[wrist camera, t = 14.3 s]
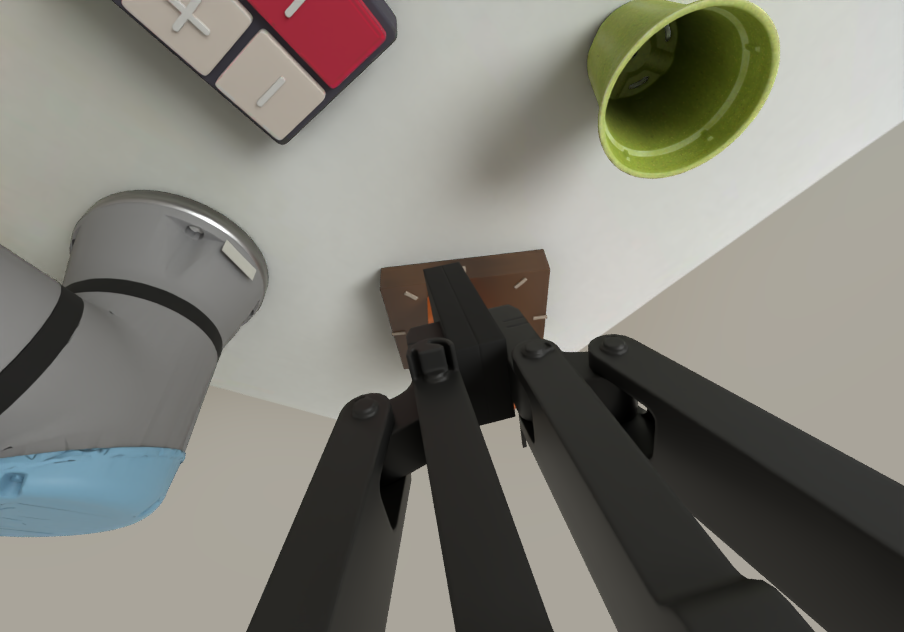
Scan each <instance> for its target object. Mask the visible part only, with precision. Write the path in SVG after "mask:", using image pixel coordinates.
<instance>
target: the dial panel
mask: <svg viewBox="0 0 904 632" xmlns="http://www.w3.org/2000/svg"><path fill="white" fill-rule="evenodd" d="M455 262H460V264H461V265H462V267H463V269H464V270H465V272H466V274H467V275H468V277H469V279H470V280H471V282H472V284H473V285H474V287H475V289H476V290H477V292H478V294H479V295H480V297H481V299H482V300H483V302H484V303H485V305H486V307H487V308H488V309H490V308H494V307H499V306H503V305H507V304H509V305H511V306H513V307H515V308H517V309H519V310H520V312H521V313H522V314H523V316H524V317H525V318H526V319H527V321H528V323H530V325H531V326H532V327H533V329H534V330H535V331H536V333H537V334H538V335H539V337H540V338H541V339H543V337H544V327H545V319H546V318H547V315H546V306H547V296H548V286H549V276H550V267H549V264H548V261H547V258H546V255H545V252H544V250H543V249H542V250H533V251H524V252H516V253H507V254H499V255H490V256H481V257H473V258H464V259H456V260H447V261H438V262H430V263H421V264H413V265H404V266H395V267H387V268H381V279H380V291H381V294H382V298H383V301H384V304H385V308H386V311H387V314H388V318H389V321H390V324H391V327H392V331H393V332H392V336H394V337H395V341H396V344H397V347H398V351H399V354H400V357H401V361H402V364H403V367H404V369H409V366H408V362H407V358H406V354H407V350H408V345H407V340H406V335H407V333H408V332H409V330H410V328H412V327H416V326H421V325H425V324H428V306H427V297H429V296H428V291H427V286H426V282H425V277H424V272H423V269H427V268H432V267H436V266H441V265H445V264H450V263H455Z"/></svg>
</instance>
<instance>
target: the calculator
mask: <svg viewBox="0 0 904 632" xmlns="http://www.w3.org/2000/svg"><path fill="white" fill-rule="evenodd" d="M112 1H113V2H114V3H115V4H117V5H118V6H119V7H120V8H121V9H122V10H123V11H125V12H126V13H127V14H128V15H129V16H130V17H132V18H133V19H134V20H135V21H136V22H137V23H139V24H140V25H141V26H142V27H143V28H144V29H146V30H147V31H148V32H149V33H150V34H151V35H153V36H154V37H155V38H156V39H157V40H158V41H159V42H161V43H162V44H163V45H164V46H165V47H166V48H168V49H169V50H170V51H171V52H172V53H173V54H175V55H176V56H177V57H178V58H179V59H180V60H182V61H183V62H184V63H185V64H186V65H187V66H189V67H190V68H191V69H192V70H193V71H194V72H196V73H197V74H198V75H199V76H200V77H201V78H202V79H204V80H205V81H206V82H207V83H208V84H209V85H211V86H212V87H213V88H214V89H215V90H216V91H218V92H219V93H220V94H221V95H222V96H223V97H225V98H226V99H227V100H228V101H229V102H230V103H232V104H233V105H234V106H235V107H236V108H237V109H239V110H240V111H241V112H242V113H243V114H244V115H245V116H247V117H248V118H249V119H250V120H251V121H252V122H254V123H255V124H256V125H257V126H258V127H259V128H261V129H262V130H263V131H264V132H265V133H266V134H268V135H269V136H270V137H271V138H272V139H273V140H275V141H276V142H277V143H279V144H281V145H284V144H286V143H288V142H289V141H290V140H291V139H292V138H293V137H294V136H295V135H296V134H297V133H298V132H299V131H300V130H301V129H302V128H303V127H305V126H306V125H307V124H308V123H309V122H310V121H311V120H312V119H313V118H314V117H315V116H316V115H317V114H318V113H319V112H320V111H321V110H323V109H324V108H325V107H326V106H327V105H328V104H329V103H330V102H331V101H332V100H333V99H334V98H335V97H336V96H337V95H338V94H339V93H340V92H342V91H343V90H344V89H345V88H346V87H347V86H348V85H349V84H350V83H351V82H352V81H353V80H354V79H355V78H356V77H357V76H358V75H360V74H361V73H362V72H363V71H364V70H365V69H366V68H367V67H368V66H369V65H370V64H371V63H372V62H373V61H374V60H375V59H376V58H377V57H379V56H380V55H381V54H382V53H383V52H384V51H385V50H386V49H387V48H388V47H389V46H390V45H391V44H392V43H393V42H394V41H395V40H396V38H397V21H396V17H395V15H394V13H393V12H392V10H391V9H390V8H389V6H388V5H387V4H386V2H385V1H384V0H112Z"/></svg>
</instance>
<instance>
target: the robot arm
mask: <svg viewBox="0 0 904 632" xmlns="http://www.w3.org/2000/svg"><path fill="white" fill-rule="evenodd" d="M423 272H424V277H425V282H426V286H427V291H428V296H429V301H430V306H431V310H432V315H433V320H434V323H429V324H425V325H421V326H416V327H412V328H410V330H409V332H408V333H407V335H406V340H407V345H408V350H407V354H406V358H407V362H408V366H409V370H410V374H411V378H412V383H411V385H410V386H409V387H408V389H407V390H405V391H404V392H403V393H402V394H400V395H398V396H396V397H394V398H392V399H390V400H389V399H388V398H387V396H385V395H382V394H380V393H369V394H365V395H361V396H359V397H356V398H354V399H352V400H351V401H350V402H348V403H347V404H346V405H345V406H344V407H343V409H342V410H341V412H340V414H339V417H338V419H337V421H336V424H335V426H334V428H333V431H332V433H331V435H330V438H329V440H328V443H327V445H326V447H325V449H324V452H323V454H322V456H321V459H320V461H319V463H318V466H317V468H316V470H315V473H314V475H313V477H312V480H311V482H310V484H309V487H308V489H307V491H306V494H305V496H304V498H303V501H302V503H301V505H300V508H299V510H298V512H297V515H296V517H295V519H294V522H293V524H292V526H291V529H290V531H289V533H288V536H287V538H286V540H285V543H284V545H283V547H282V550H281V552H280V554H279V557H278V559H277V561H276V564H275V566H274V569H273V571H272V573H271V575H270V578H269V580H268V582H267V585H266V587H265V589H264V592H263V594H262V596H261V599H260V601H259V603H258V606H257V608H256V610H255V613H254V615H253V617H252V620H251V622H250V624H249V627H248V629H247V631H246V632H385V627H386V622H387V616H388V611H389V605H390V599H391V593H392V587H393V582H394V576H395V570H396V565H397V559H398V553H399V547H400V542H401V536H402V529H403V524H404V519H405V513H406V507H407V501H408V495H409V490H410V484H411V472H413V471H415V470H416V469H418V468H420V467H422V466H424V465H426V464H427V468H428V474H429V480H430V485H431V491H432V497H433V503H434V508H435V515H436V520H437V526H438V532H439V538H440V543H441V549H442V555H443V560H444V566H445V572H446V578H447V584H448V589H449V595H450V601H451V607H452V613H453V618H454V624H455V630H456V632H554V631H553V629H552V626H551V624H550V621H549V618H548V615H547V613H546V610H545V607H544V604H543V602H542V599H541V596H540V593H539V591H538V588H537V585H536V582H535V579H534V576H533V574H532V571H531V568H530V565H529V563H528V560H527V557H526V554H525V552H524V549H523V546H522V543H521V540H520V538H519V535H518V532H517V529H516V527H515V524H514V521H513V518H512V515H511V513H510V510H509V507H508V504H507V502H506V499H505V496H504V493H503V490H502V488H501V485H500V482H499V479H498V476H497V474H496V471H495V468H494V465H493V463H492V460H491V457H490V454H489V451H488V449H487V446H486V443H485V440H484V437H483V435H482V432H481V429H480V425H484V424H488V423H492V422H496V421H500V420H504V419H507V418H512V417H515V410H514V405H515V407H516V409H517V410H518V413H519V421H520V429H521V437H522V445H523V448H524V447H526V446H527V445H526V440H527V442H528V444H529V446H530V448H531V450H532V452H533V455H534V457H535V459H536V461H537V463H538V465H539V467H540V469H541V471H542V473H543V475H544V478H545V480H546V482H547V484H548V486H549V488H550V490H551V492H552V494H553V497H554V499H555V501H556V503H557V505H558V507H559V509H560V511H561V513H562V515H563V517H564V520H565V521H566V523H567V526H568V528H569V530H570V532H571V534H572V536H573V538H574V541H575V543H576V545H577V547H578V549H579V551H580V553H581V555H582V557H583V559H584V561H585V563H586V566H587V568H588V570H589V572H590V574H591V576H592V578H593V580H594V582H595V584H596V587H597V589H598V590H599V593H600V595H601V597H602V599H603V601H604V603H605V605H606V607H607V610H608V612H609V614H610V616H611V618H612V620H613V622H614V624H615V626H616V628H617V631H618V632H814V630H813V629H812V628H811V627H810V626H809V624H808V623H807V622H806V621H805V620H804V619H803V617H802V616H801V615H800V614H799V613H798V612H797V611H796V609H795V608H794V607H793V606H792V605H791V603H790V602H789V601H788V600H787V599H786V598H785V597H783V595H782V594H781V593H780V592H779V591H778V590H777V589H776V588H778V589H779V590H780V591H781V592H782V593H783V594H784V595H786V596H787V597H788V598H789V599H790V600H791V601H793V602H794V603H795V604H796V605H797V606H798V607H800V608H801V609H802V610H803V611H804V612H805V613H806V614H808V615H809V616H810V617H811V618H812V619H814V620H815V621H816V622H817V623H818V624H819V625H820V626H821V627H823V628H824V629H825V630H826V631H827V632H904V486H903V485H901V484H900V483H898V482H896V481H894V480H892V479H890V478H888V477H887V476H885V475H883V474H881V473H879V472H878V471H876V470H874V469H872V468H870V467H868V466H866V465H865V464H863V463H861V462H859V461H857V460H855V459H853V458H852V457H850V456H848V455H846V454H844V453H843V452H841V451H839V450H837V449H835V448H833V447H831V446H830V445H828V444H826V443H824V442H822V441H820V440H819V439H817V438H815V437H813V436H811V435H809V434H807V433H805V432H804V431H802V430H800V429H798V428H796V427H794V426H793V425H791V424H789V423H787V422H785V421H783V420H781V419H780V418H778V417H776V416H774V415H772V414H771V413H768V412H767V411H765V410H763V409H761V408H760V407H758V406H756V405H754V404H752V403H750V402H748V401H747V400H745V399H743V398H741V397H739V396H737V395H736V394H734V393H732V392H730V391H728V390H726V389H724V388H723V387H721V386H719V385H717V384H715V383H713V382H712V381H710V380H708V379H706V378H704V377H702V376H700V375H699V374H696V373H695V372H693V371H691V370H689V369H688V368H686V367H684V366H682V365H680V364H678V363H676V362H675V361H673V360H671V359H669V358H667V357H665V356H664V355H661V354H660V353H658V352H656V351H654V350H653V349H650V348H649V347H647V346H645V345H643V344H641V343H640V342H638V341H636V340H634V339H632V338H629V337H627V336H623V335H617V334H611V335H603V336H599V337H596V338H595V339H593V340H592V341H591V342H590V343H589V345H588V352H562V351H561V350H560V348H559V347H558V346H557V345H556V344H554V343H553V342H551V341H548V340H545V339H541V338H540V337H539V335H538V334H537V333H536V331H535V330H534V329H533V327H532V326H531V325H530V323H528V321H527V319H526V318H525V317H524V316H523V314H522V313H521V312H520V310H519V309H517V308H515V307H513V306H511V305H509V304H507V305H503V306H499V307H494V308H490V309H488V308H487V307H486V305H485V303H484V302H483V300H482V299H481V297H480V295H479V294H478V292H477V290H476V289H475V287H474V285H473V284H472V282H471V280H470V279H469V277H468V275H467V274H466V272H465V270H464V269H463V267H462V265H461V264H460V262H455V263H450V264H445V265H441V266H436V267H432V268H427V269H423ZM267 286H268V269H267V265H266V262H265V260H264V258H263V255H262V253H261V252H260V250H259V249H258V247H257V246H256V244H255V243H254V242H253V240H252V239H251V238H250V237H249V236H248V235H247V234H246V233H245V232H244V231H243V230H242V229H241V228H240V227H239V226H237V225H236V224H235V223H234V222H232V221H231V220H230V219H228V218H227V217H225V216H224V215H222V214H220V213H219V212H217V211H215V210H213V209H212V208H210V207H208V206H206V205H203V204H201V203H199V202H196V201H194V200H191V199H188V198H185V197H182V196H179V195H175V194H171V193H166V192H160V191H150V190H133V191H124V192H119V193H115V194H112V195H109V196H107V197H105V198H103V199H101V200H99V201H98V202H96V203H95V204H94V205H93V206H92V207H91V208H90V209H89V210H88V211H87V212H86V214H85V215H84V216H83V217H82V218H81V219H80V220H79V221H78V223H77V224H76V226H75V228H74V230H73V233H72V238H71V244H70V258H69V261H68V265H67V269H66V273H65V277H64V281H63V285H61V284H60V283H59V282H57V281H56V280H54V279H52V278H51V277H49V276H48V275H46V274H45V273H43V272H42V271H40V270H39V269H37V268H36V267H34V266H33V265H31V264H30V263H28V262H27V261H25V260H24V259H22V258H21V257H19V256H18V255H16V254H14V253H13V252H11V251H10V250H8V249H7V248H5V247H4V246H2V245H1V244H0V536H10V537H49V536H70V535H81V534H90V533H98V532H104V531H110V530H114V529H118V528H121V527H125V526H128V525H131V524H134V523H136V522H138V521H140V520H142V519H144V518H146V517H147V516H149V515H150V514H151V513H153V512H154V511H155V510H156V509H157V508H158V507H159V505H160V504H161V503H162V501H163V499H164V498H165V496H166V493H167V491H168V489H169V487H170V485H171V483H172V480H173V478H174V476H175V474H176V472H177V470H178V468H179V466H180V464H181V463H182V462H183V461H184V459H185V454H186V453H185V450H186V448H187V445H188V442H189V439H190V436H191V434H192V431H193V428H194V425H195V423H196V420H197V417H198V414H199V412H200V409H201V406H202V403H203V401H204V398H205V395H206V393H207V390H208V387H209V384H210V382H211V379H212V376H213V374H214V371H215V368H216V365H217V362H218V360H219V357H220V355H221V352H222V350H223V348H224V347H225V345H226V344H227V343H228V342H229V341H230V340H231V339H232V338H233V337H234V336H235V334H236V333H237V332H238V330H239V329H240V327H241V326H242V325H244V324H245V323H246V322H248V321H249V320H250V319H251V318H252V317H253V315H254V314H255V313H256V312H257V311H258V310H259V308H260V306H261V304H262V302H263V299H264V296H265V293H266V290H267ZM638 401H639V402H640V403H641V404H643V405H644V406H645V407H647V411H646V410H644V409H642V408H641V407H639V406H638ZM693 516H694V517H696V518H697V519H698V520H699V521H700V522H701V523H703V524H704V525H705V526H706V527H707V528H708V529H709V530H711V531H712V532H713V533H714V534H715V535H716V536H717V537H719V538H720V539H721V540H722V541H723V542H725V543H726V544H727V545H728V546H729V547H730V548H732V549H733V550H734V551H735V552H736V553H737V554H738V555H739V556H741V557H742V558H743V559H744V560H745V561H746V562H748V563H749V564H750V565H751V566H752V567H753V568H754V569H756V570H757V571H758V572H759V573H760V574H761V575H763V576H764V577H765V578H766V579H767V580H768V581H770V582H771V583H772V584H773V585H774V586H775V587H776V588H774V587H773V586H771V585H769V584H768V583H766V582H765V581H763V580H756V579H747V578H746V577H744V576H743V575H741V574H740V573H739V572H738V571H737V570H736V569H735V568H734V567H733V566H732V564H731V563H730V562H729V561H728V559H727V558H726V557H725V555H724V554H723V553H722V552H721V551H720V549H719V548H718V547H717V545H716V544H715V543H714V542H713V541H712V539H711V538H710V537H709V535H708V534H707V533H706V532H705V530H704V529H703V528H702V527H701V525H700V524H699V523H698V522H697V520H696V519H695V518H694V517H693Z"/></svg>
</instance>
